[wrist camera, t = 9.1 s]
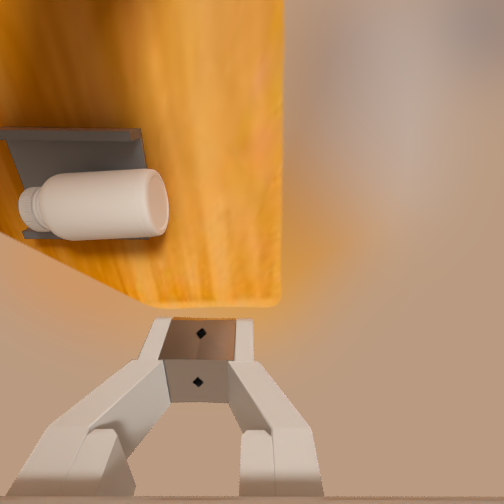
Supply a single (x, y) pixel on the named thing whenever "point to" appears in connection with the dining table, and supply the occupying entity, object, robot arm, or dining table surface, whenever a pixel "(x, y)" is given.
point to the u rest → (71, 155)
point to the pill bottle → (98, 205)
